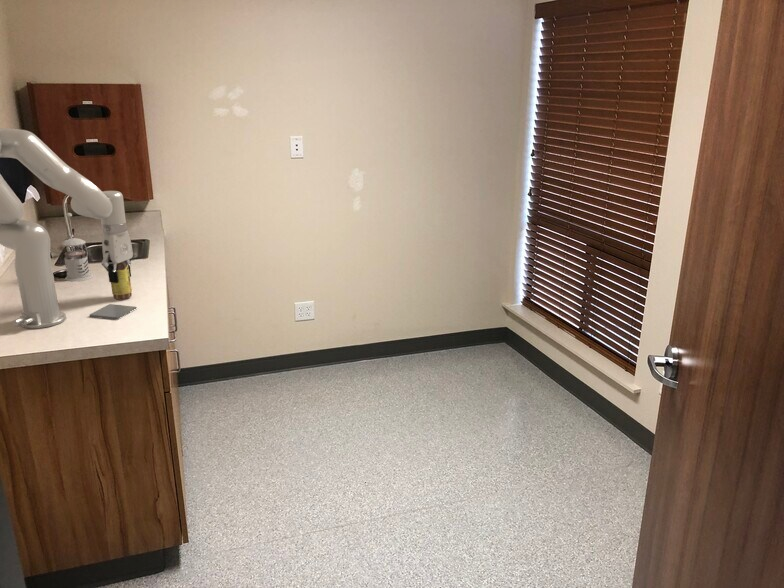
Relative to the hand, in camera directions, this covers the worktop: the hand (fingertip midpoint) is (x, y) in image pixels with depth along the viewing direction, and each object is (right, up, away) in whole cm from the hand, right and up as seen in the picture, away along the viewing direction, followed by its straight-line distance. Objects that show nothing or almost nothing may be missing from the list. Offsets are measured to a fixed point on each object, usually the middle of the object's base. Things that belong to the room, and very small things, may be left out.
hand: (120, 279), depth 206 cm
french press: (-26, +1, +23) cm, 35 cm away
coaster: (+3, -11, -11) cm, 16 cm away
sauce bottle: (0, -7, +2) cm, 7 cm away
